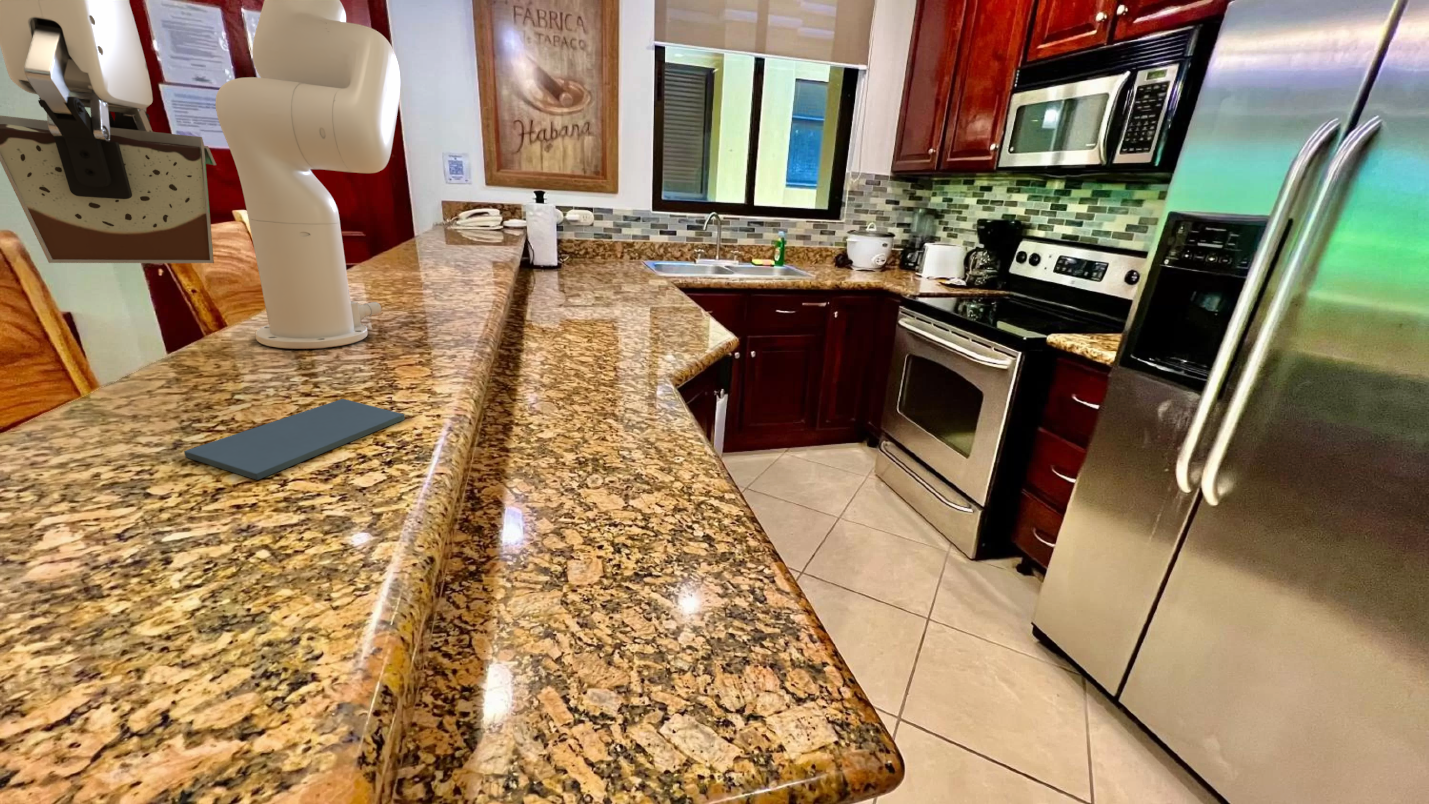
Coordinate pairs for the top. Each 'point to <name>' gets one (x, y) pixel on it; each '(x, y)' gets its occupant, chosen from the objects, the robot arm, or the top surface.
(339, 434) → the pad
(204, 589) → the top surface
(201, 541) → the top surface
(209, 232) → the food container
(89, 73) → the robot arm
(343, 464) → the top surface
